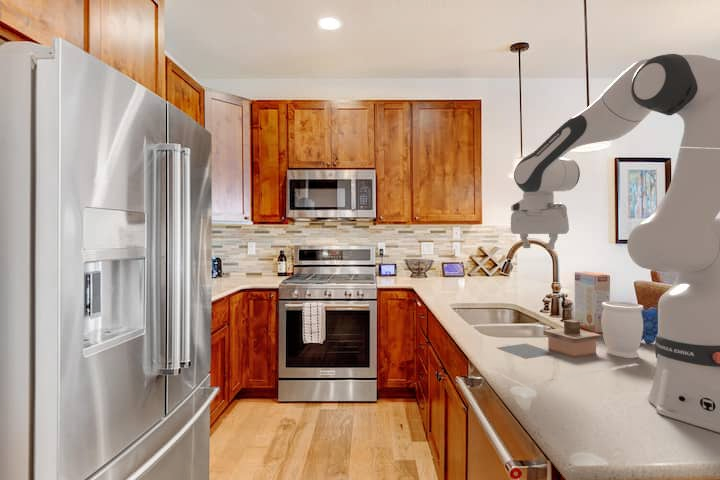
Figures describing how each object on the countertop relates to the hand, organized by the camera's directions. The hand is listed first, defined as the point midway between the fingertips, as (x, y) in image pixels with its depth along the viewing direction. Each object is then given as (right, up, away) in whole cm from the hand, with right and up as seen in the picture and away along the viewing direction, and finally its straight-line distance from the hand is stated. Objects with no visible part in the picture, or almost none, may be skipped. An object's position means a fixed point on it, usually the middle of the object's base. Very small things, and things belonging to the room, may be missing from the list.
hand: (538, 248), depth 129 cm
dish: (+7, -31, -6) cm, 33 cm away
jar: (+21, -31, -8) cm, 39 cm away
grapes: (+38, -31, +4) cm, 49 cm away
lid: (+7, -26, -6) cm, 28 cm away
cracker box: (+30, -31, +24) cm, 49 cm away
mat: (-6, -31, -5) cm, 32 cm away
